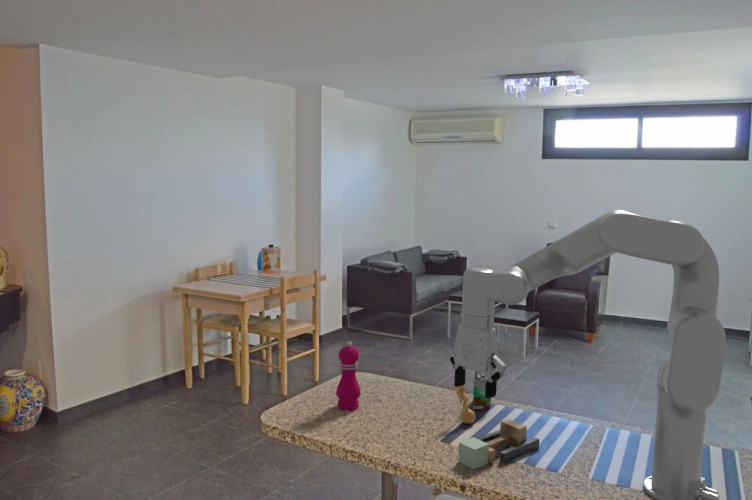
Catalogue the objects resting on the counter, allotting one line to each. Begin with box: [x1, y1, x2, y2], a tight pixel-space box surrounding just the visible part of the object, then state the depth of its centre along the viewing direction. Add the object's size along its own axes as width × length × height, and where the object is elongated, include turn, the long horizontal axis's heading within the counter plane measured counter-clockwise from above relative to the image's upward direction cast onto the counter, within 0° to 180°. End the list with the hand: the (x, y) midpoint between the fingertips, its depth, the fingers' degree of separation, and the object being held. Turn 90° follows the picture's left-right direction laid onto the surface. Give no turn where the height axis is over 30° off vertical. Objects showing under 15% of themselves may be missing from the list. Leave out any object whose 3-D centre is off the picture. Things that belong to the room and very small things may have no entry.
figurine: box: [454, 385, 476, 425], centre depth 172 cm, size 8×6×12 cm
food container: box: [472, 371, 492, 412], centre depth 185 cm, size 12×6×10 cm, turn 168°
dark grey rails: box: [476, 429, 540, 464], centre depth 156 cm, size 10×14×2 cm
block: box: [457, 437, 489, 470], centre depth 148 cm, size 5×5×5 cm
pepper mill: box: [335, 340, 362, 412], centre depth 182 cm, size 7×7×20 cm
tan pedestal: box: [486, 418, 528, 464], centre depth 154 cm, size 6×14×6 cm, turn 129°
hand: (474, 391), depth 146 cm, fingers open, 9 cm apart
